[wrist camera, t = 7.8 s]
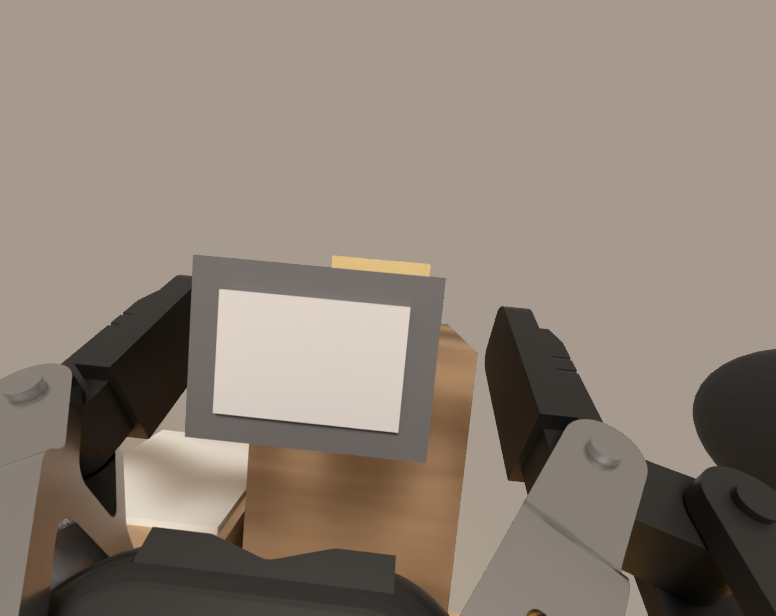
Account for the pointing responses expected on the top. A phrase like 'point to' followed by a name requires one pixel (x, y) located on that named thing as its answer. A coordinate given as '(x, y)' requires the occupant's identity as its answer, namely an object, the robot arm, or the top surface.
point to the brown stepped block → (318, 489)
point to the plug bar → (314, 355)
